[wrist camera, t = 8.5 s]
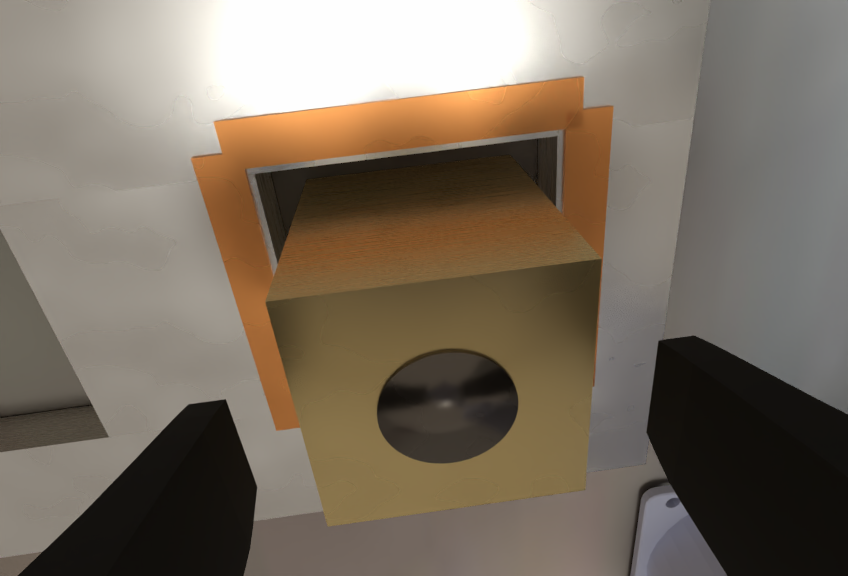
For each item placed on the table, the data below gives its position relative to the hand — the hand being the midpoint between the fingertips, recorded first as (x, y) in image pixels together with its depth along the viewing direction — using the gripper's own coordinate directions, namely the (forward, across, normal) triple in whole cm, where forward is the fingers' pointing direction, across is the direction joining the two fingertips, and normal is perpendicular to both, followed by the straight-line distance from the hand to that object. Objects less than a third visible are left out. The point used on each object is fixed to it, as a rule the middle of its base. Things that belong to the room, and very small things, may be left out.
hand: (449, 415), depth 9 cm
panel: (+6, +6, 0) cm, 9 cm away
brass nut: (+6, 0, 0) cm, 6 cm away
